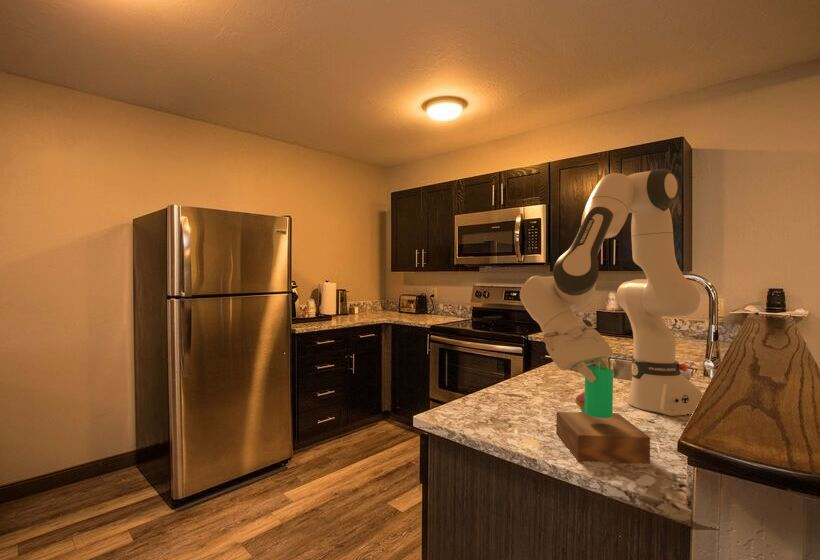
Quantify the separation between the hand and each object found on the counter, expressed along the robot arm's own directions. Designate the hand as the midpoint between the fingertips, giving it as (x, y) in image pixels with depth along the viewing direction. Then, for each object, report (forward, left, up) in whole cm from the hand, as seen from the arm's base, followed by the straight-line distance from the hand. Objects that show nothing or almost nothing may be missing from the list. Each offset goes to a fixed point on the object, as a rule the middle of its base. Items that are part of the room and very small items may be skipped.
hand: (602, 378), depth 94 cm
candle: (+1, -1, -8) cm, 8 cm away
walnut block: (0, -1, -16) cm, 16 cm away
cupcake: (-7, -20, -16) cm, 27 cm away
